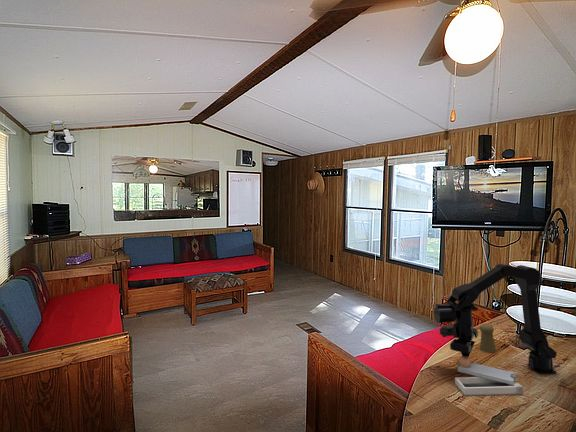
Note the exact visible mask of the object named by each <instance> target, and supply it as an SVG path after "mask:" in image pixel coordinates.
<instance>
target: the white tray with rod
mask: <svg viewBox="0 0 576 432" xmlns="http://www.w3.org/2000/svg"><path fill="white" fill-rule="evenodd" d="M454 384H455V386H456V387H457V388H458V389H459V391H460V392H461V393H462V394H463V395H464V396H465V397H467V396H469V397H470V396H499V395H500V396H501V395H502V396H503V395H506V396H507V395H523V394H524V390H523V388H524V387H523V386H522V385H521V384H520V383H519V382H517V381H516V379H515V380H514V384H513V385H511V384H507V383H503V382H499V381H495V380H491V379H487V378H483V377H478V376H468V377H467V376H463V377H462V376H461V377H460V376H459V377H458V376H457V377H454Z"/></svg>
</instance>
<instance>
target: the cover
mask: <svg viewBox="0 0 576 432" xmlns="http://www.w3.org/2000/svg"><path fill="white" fill-rule="evenodd" d="M457 372H458V373H463V374H465V375H466V374H467V375H471V376H473V377H483V378H487V379H491V380H495V381H499V382H503V383H507V384H511V385H513V384H514V380H515V381H516V379H518V378H519V377H518V375H517V374H516V372H514V371H509V370H504V369H500V368H496V367H492V366H486V365H482V364H479V363H473V362H471V358H470V356H469V357H467V356H462V355H461V356H460V364H459V366H458V367H457Z"/></svg>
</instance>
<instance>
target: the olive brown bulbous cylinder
mask: <svg viewBox="0 0 576 432" xmlns="http://www.w3.org/2000/svg"><path fill="white" fill-rule="evenodd" d="M494 329H495V328H494V327H493V325H491V324H487V323H484V324H483V323H482V324H480V326H479V330H480V334H481V335H480V342H479V344H480V345H479V346H480V347H479V349H480V351H482V352H483V353H487V352H488V353H489V354H493V353H494V352H495V353H496V352H497V349H496V343H495V339H494V335H493V334H494ZM488 353H487V354H488Z"/></svg>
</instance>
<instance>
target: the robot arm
mask: <svg viewBox="0 0 576 432" xmlns="http://www.w3.org/2000/svg"><path fill="white" fill-rule="evenodd" d="M508 276H509V277H513V279H514V281H515V283H516V285H517V286H518V288H519V290H520V297H521V307H522V313H523V323H524V324H523V325H524V326H523V328H522V329H518V333H519V338H518V339H519V341H521V344H523V345H524V347H525V348H526V349H527V350H528V353H529V354H528V363H527V367H529V368H530V369H532V370H533V371H534V372H536V374H539V375H540V374H557V370H554V367H553V366H554V365H553V364H554V363H553V359H556V357H557V354H558V353H557V351H556V350H555V349H553V348H552V347H551V346H549V341H548V338H547V335H546V334H545V332H544V330H543V329H542V328H541V327H542V326H541V318H540V312H539V311H540V310H539V302H538V294H537V290H538V288H539V286H540V284H541V272H540V270H538V269H537V268H534V267H531V266H527V265H522V264H520V265H517V266H514V265H509V264H505V263H498V264H496V265H495V266H494V267H493V268H492V269H490V270H488V271H487V272H485V273H483V274H482V275H480V276H479V277H478V278H476V279H475V280H473V281H471V282H469V283H463V284H461V285H458V286H456V287H454V288H453V289H452V291H451V294H450V296H449V297H448V299H447V300H446V303H443V304H441V303H435V307H434V309H433V317H434V320H435V321H436V323H452V324H445V325H441V326H440V327H439V335H441V336H442V338H446V337H452V336H453V338H454V339H452V340H451V342H450V343H449V349H450V350H451V351H455V352H460V353H461V356H467V357H469V358H470V355H471V352H472V350H473V349H474V345H475V343H476V342H475V341H474V340H473V339H474V338H476V339H477V338H478V336H479V331H478V329H476V328H475V327H474V324H475V323H474V322H473V311H478V310H479V307H477V306H475V305H474V302H475V301H476V300H477V299H479V297H480V294H482V293H483V292H484V291H485V290H487V289H489V288H490V287H492V286H493V285H495V284H497V283H498V282H499V281H501V280H502V279H504V278H507V277H508Z"/></svg>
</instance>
